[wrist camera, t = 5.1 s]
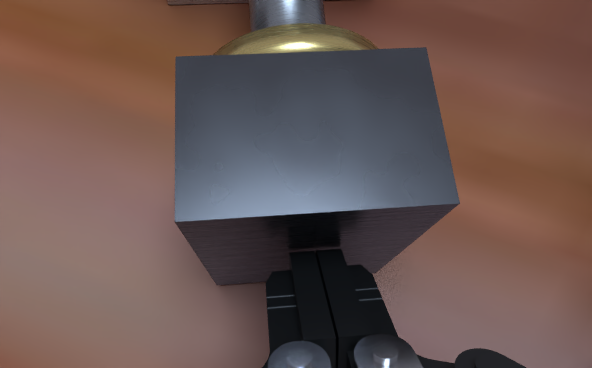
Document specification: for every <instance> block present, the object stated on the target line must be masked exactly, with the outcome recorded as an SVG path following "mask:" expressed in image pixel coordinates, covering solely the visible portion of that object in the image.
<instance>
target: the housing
mask: <svg viewBox="0 0 592 368" xmlns="http://www.w3.org/2000/svg"><path fill="white" fill-rule="evenodd" d="M167 2H168V5H181V4H216V3H249V0H167Z"/></svg>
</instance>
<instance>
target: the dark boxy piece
mask: <svg viewBox="0 0 592 368" xmlns="http://www.w3.org/2000/svg"><path fill="white" fill-rule="evenodd" d="M249 11H250V27H251V33H248V34H245V35H243V36H241V37H239V38H236V39H234V40H232V41H231V42H229V43H228V44H226V45H224V46H223V47H221V48H220V49H219V50H218V51H217V52H215V53H214V54H213V55H209V56H182V57H176V81H175V223H176V224H177V226H178V227H179V229H180V230H181V232H182V233H183V235H184V236H185V238H186V239H187V241H188V242H189V244H190V246H191V247H192V249H193V250H194V252H195V253H196V255H197V256H198V258H199V259H200V261H201V262H202V264H203V265H204V267H205V268H206V270H207V271H208V273H209V274H210V276H211V277H212V279H213V280H214V282H215V283H216V285H227V284H240V283H253V282H266V281H267V280H268V278H269V276H270V275H271V273H272V271H284V270H289V252H303V251H314V252H315V251H316V250H328V249H341V250H342V252H343V255H344V258H345V261H346V264H347V265H360V264H361V265H362V266H363V267H364V268H365V269H367V270H368V271H369V272H370V273H376V272H377V271H378V270H380V269H381V268H382V267H383V266H385V265H386V264H387V263H388V262H389V261H391V260H392V259H393V258H394V257H395V256H397V255H398V254H399V253H400V252H402V251H403V250H404V249H405V248H406V247H408V246H409V245H410V244H411V243H412V242H414V241H415V240H416V239H417V238H418V237H420V236H421V235H422V234H423V233H425V232H426V231H427V230H428V229H429V228H431V227H432V226H433V225H434V224H435V223H437V222H438V221H439V220H440V219H442V218H443V217H444V216H445V215H446V214H448V213H449V212H450V211H451V210H452V209H454V208H455V207H456V206H457V205H458V204H460V202H459V197H458V193H457V188H456V183H455V179H454V174H453V170H452V165H451V160H450V156H449V151H448V146H447V142H446V137H445V133H444V128H443V123H442V119H441V114H440V109H439V105H438V100H437V95H436V91H435V86H434V82H433V77H432V72H431V68H430V63H429V58H428V54H427V49H426V47H425V48H398V49H378V48H377V47H376V46H375V45H374V44H373V43H372V42H371V41H369V40H368V39H366V38H365V37H363V36H361V35H359V34H357V33H355V32H353V31H350V30H347V29H343V28H340V27H335V26H330V25H326V23H325V15H324V8H323V0H249Z"/></svg>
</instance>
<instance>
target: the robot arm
mask: <svg viewBox="0 0 592 368" xmlns="http://www.w3.org/2000/svg"><path fill="white" fill-rule="evenodd" d="M266 297H267V313H268V329H269V344H270V354H269V358H268V360H267V362H266V363H265V365H264V366H263V367H262V368H526V367H524V366H522V365H520V364H519V363H517V362H515V361H513V360H511V359H509V358H507V357H506V356H504V355H502V354H500V353H497V352H495V351H492V350H488V349H481V348H479V349H469V350H466V351H464V352H462V353H461V354H459V355H458V357H457V358H456V360H455V363H449V362H443V361H437V360H431V359H427V358H424V357H421V356H419V355H417V354H415V352H414V350H413V349H412V347H411V346H410V345H409V344H408V343H407V342H406V341H404V340H403V339H401V338H399V337H398V335H397V332H396V330H395V328H394V325H393V323H392V320H391V318H390V316H389V313H388V311H387V308H386V306H385V304H384V301H383V300H382V296H381V294H380V292H379V289H378V287H377V284H376V282H375V280H374V277H373V275H372V274H371V273H370V272H369V271H368V270H367V269H365V268H364V267H363V266H362V265H361V264H360V265H347V264H346V261H345V258H344V255H343V252H342V250H341V249H328V250H316V251H315V252H314V251H303V252H289V270H284V271H272V273H271V275H270V276H269V278H268V280H267V282H266Z"/></svg>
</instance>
